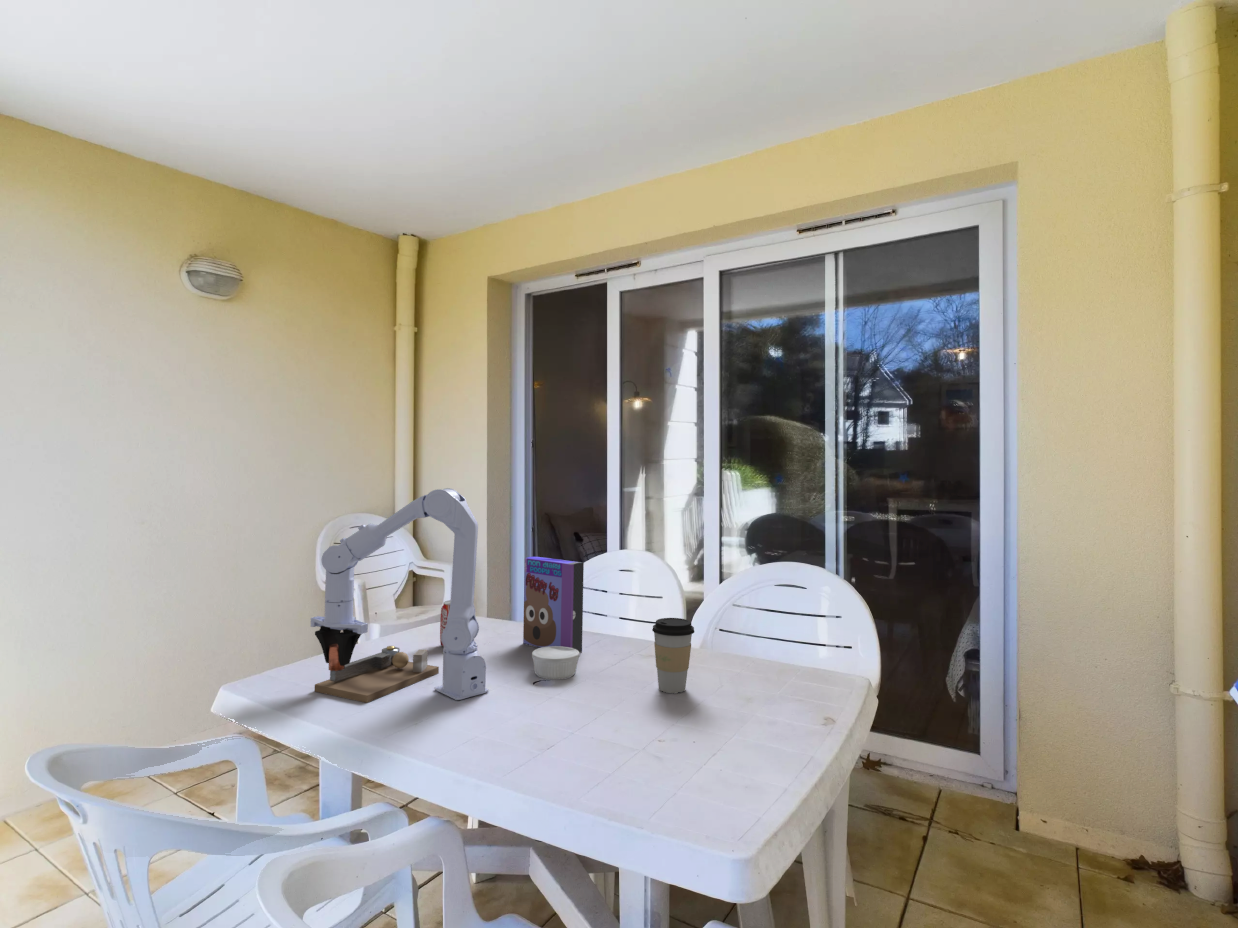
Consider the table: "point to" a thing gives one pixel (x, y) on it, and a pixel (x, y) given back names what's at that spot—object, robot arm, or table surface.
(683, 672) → the coffee cup
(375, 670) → the board
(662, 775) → the table surface
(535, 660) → the ramekin
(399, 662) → the walnut
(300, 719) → the table surface
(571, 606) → the cereal box
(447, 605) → the soda can
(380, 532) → the robot arm
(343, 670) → the lever
